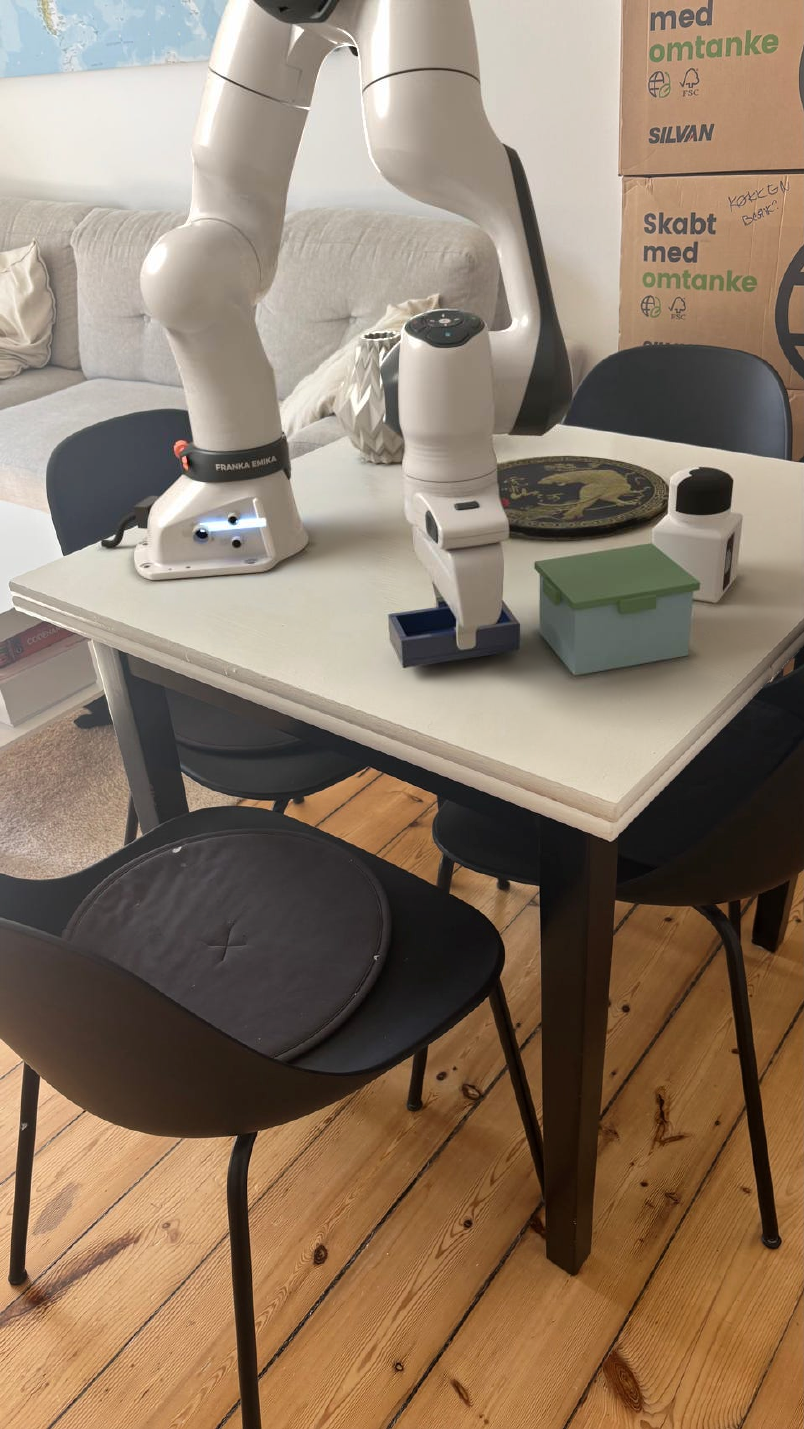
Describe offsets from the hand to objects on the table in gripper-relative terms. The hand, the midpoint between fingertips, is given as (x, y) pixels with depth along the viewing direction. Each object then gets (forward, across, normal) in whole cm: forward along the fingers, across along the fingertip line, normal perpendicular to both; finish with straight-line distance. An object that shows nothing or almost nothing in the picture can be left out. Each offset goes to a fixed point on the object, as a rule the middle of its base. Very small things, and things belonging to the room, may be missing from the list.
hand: (454, 629), depth 106 cm
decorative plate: (+3, -39, +25) cm, 47 cm away
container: (+3, -7, +30) cm, 31 cm away
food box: (+3, +3, +16) cm, 16 cm away
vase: (+4, -69, +8) cm, 70 cm away
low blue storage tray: (+2, 0, 0) cm, 2 cm away
